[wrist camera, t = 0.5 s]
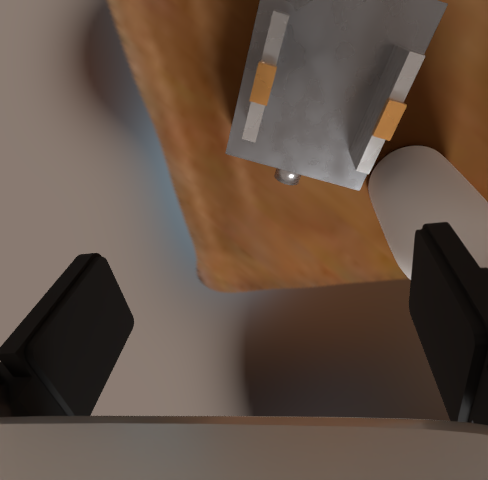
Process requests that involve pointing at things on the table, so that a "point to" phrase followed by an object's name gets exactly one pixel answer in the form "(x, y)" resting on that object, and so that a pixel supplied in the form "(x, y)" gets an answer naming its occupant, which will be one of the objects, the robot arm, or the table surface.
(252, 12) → the table surface
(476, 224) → the milk bottle
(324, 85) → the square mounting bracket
